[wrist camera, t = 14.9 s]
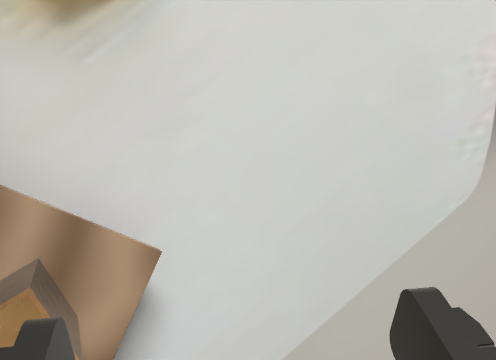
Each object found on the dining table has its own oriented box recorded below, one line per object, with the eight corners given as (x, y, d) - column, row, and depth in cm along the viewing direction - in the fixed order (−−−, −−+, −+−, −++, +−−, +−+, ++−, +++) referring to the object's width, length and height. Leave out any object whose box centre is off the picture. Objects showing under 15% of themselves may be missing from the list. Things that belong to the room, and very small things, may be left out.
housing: (8, 361, 29) (-18, 447, 20) (-36, 301, 28) (-85, 362, 19) (77, 316, 31) (83, 376, 21) (38, 257, 30) (27, 294, 20)
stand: (-120, 354, 30) (-151, 385, 26) (-21, 173, 32) (-34, 172, 28) (76, 402, 35) (78, 435, 31) (150, 242, 37) (162, 251, 33)
